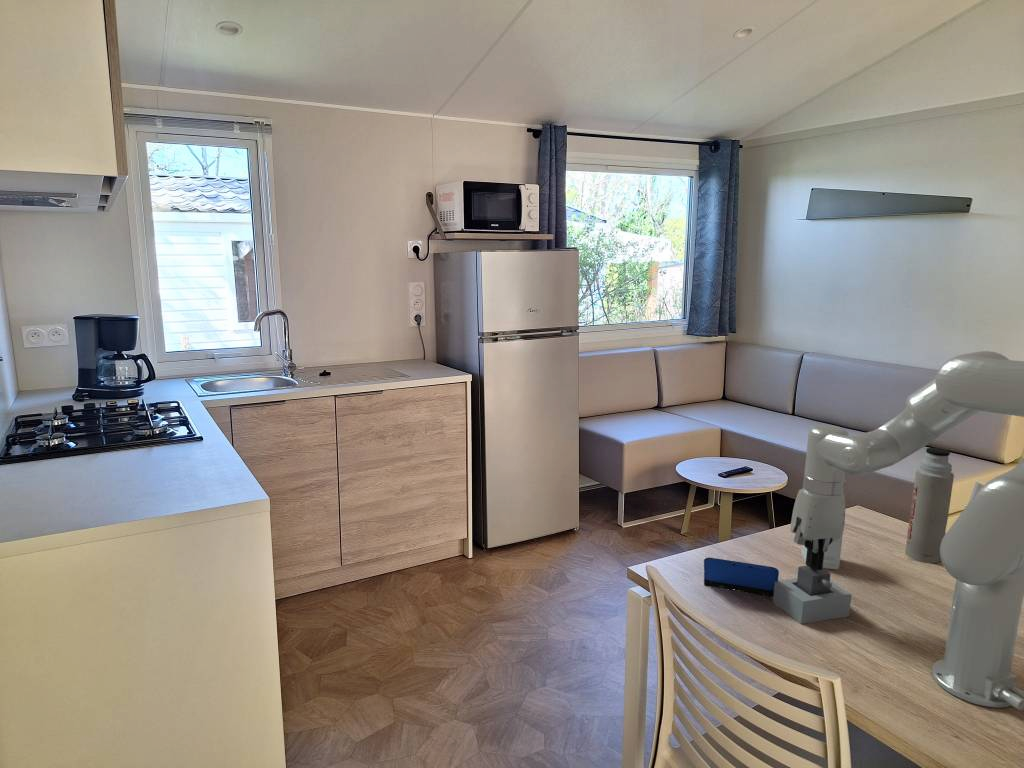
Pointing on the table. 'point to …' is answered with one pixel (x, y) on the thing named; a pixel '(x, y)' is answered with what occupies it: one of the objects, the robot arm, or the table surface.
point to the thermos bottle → (930, 506)
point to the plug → (813, 581)
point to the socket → (811, 602)
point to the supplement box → (829, 554)
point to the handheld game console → (740, 576)
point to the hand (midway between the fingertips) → (813, 567)
